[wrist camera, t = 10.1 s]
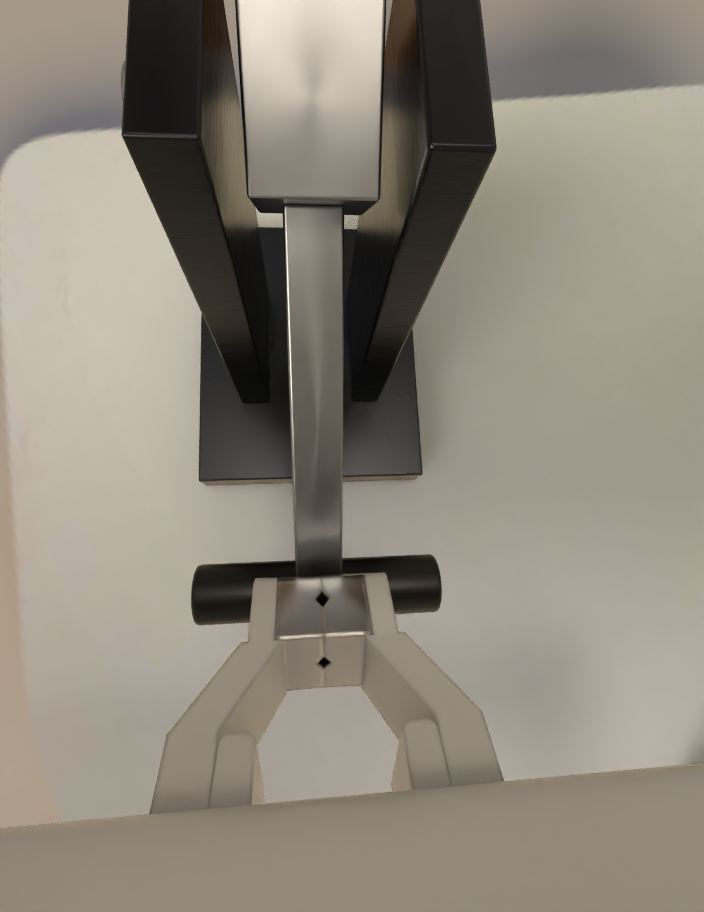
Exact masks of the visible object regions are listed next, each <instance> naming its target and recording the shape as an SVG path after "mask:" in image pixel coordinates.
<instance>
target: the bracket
mask: <svg viewBox="0 0 704 912" xmlns="http://www.w3.org/2000/svg"><path fill="white" fill-rule="evenodd" d="M484 40H485V39H484V31H483V22H482V13H481V4H480V0H393V2H392V8H391V15H390V21H389V28H388V35H387V41H386V47H385V57H384V91H383V124H382V158H381V191H380V200H379V201H378V202H377V203H376V204H374V205H373V206H372V207H371V208H370V209H369V210H367V211H366V212H365V213H364V214H362V215H359V221H358V227H357V229H344V303H343V481H370V480H403V479H416V478H417V477H419V476H420V475H422V461H421V446H420V432H419V418H418V403H417V389H416V375H415V361H414V346H413V332H412V327H413V325H414V323H415V321H416V319H417V317H418V315H419V312H420V310H421V308H422V306H423V304H424V302H425V300H426V298H427V296H428V293H429V291H430V289H431V287H432V285H433V283H434V281H435V279H436V277H437V274H438V272H439V270H440V268H441V266H442V264H443V262H444V260H445V258H446V256H447V253H448V251H449V249H450V247H451V245H452V243H453V241H454V239H455V237H456V234H457V232H458V230H459V228H460V226H461V224H462V222H463V220H464V218H465V215H466V213H467V211H468V209H469V207H470V205H471V203H472V201H473V199H474V197H475V194H476V192H477V190H478V188H479V186H480V184H481V182H482V180H483V178H484V175H485V173H486V171H487V169H488V167H489V165H490V163H491V161H492V159H493V156H494V154H495V152H496V137H495V128H494V119H493V110H492V101H491V93H490V84H489V75H488V66H487V57H486V48H485V41H484ZM121 87H122V99H123V119H122V137H123V139H124V141H125V144H126V146H127V148H128V150H129V152H130V155H131V157H132V159H133V161H134V164H135V166H136V168H137V170H138V172H139V175H140V177H141V179H142V181H143V184H144V186H145V188H146V190H147V192H148V195H149V197H150V199H151V201H152V204H153V206H154V208H155V210H156V212H157V215H158V217H159V219H160V221H161V223H162V226H163V228H164V230H165V232H166V235H167V237H168V239H169V241H170V243H171V246H172V248H173V250H174V252H175V255H176V257H177V259H178V261H179V263H180V266H181V268H182V270H183V272H184V275H185V277H186V279H187V281H188V283H189V286H190V288H191V290H192V292H193V294H194V297H195V299H196V301H197V303H198V306H199V308H200V310H201V312H202V313H201V374H200V435H199V481H200V482H202V483H203V484H205V485H236V484H270V483H293V481H292V453H291V426H290V398H289V370H288V343H287V315H286V287H285V260H284V232H283V228H265V227H258V222H257V215H256V209H255V206H254V204H253V203H252V202H251V200H250V199H249V198H248V196H247V189H246V173H245V156H244V139H243V124H242V118H241V112H240V105H239V98H238V92H237V86H236V79H235V73H234V66H233V59H232V54H231V47H230V40H229V34H228V27H227V21H226V14H225V8H224V1H223V0H129V7H128V26H127V44H126V61H124V63H123V66H122V73H121Z"/></svg>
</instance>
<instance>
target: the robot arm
mask: <svg viewBox="0 0 704 912" xmlns="http://www.w3.org/2000/svg"><path fill="white" fill-rule="evenodd" d="M361 685H362V688H363V690H364V691H365V693H366V694H367V696H368V697H369V698H370V700H371V701H372V703H373V704H374V706H375V707H376V708H377V710H378V711H379V713H380V714H381V716H382V717H383V718H384V720H385V721H386V723H387V724H388V726H389V727H390V728H391V730H392V731H393V733H394V734H395V736H396V737H397V738H398V740H399V745H398V751H397V756H396V761H395V767H394V772H393V777H392V783H391V785H392V792H385V793H374V794H363V795H353V796H342V797H331V798H320V799H309V800H298V801H288V802H277V803H266V804H264V790H263V784H262V777H261V771H260V764H259V757H258V751H257V744H258V742H259V741H260V739H261V737H262V735H263V733H264V732H265V730H266V728H267V726H268V725H269V723H270V721H271V719H272V718H273V716H274V714H275V712H276V711H277V709H278V707H279V705H280V703H281V702H282V700H283V698H284V696H285V695H286V691H289V690H300V689H310V688H320V687H338V686H361ZM0 912H704V763H698V764H688V765H677V766H666V767H655V768H645V769H634V770H623V771H612V772H602V773H591V774H580V775H569V776H558V777H548V778H537V779H526V780H515V781H504V779H503V776H502V773H501V770H500V766H499V763H498V760H497V757H496V754H495V751H494V747H493V744H492V741H491V738H490V735H489V732H488V728H487V725H486V722H485V719H484V716H483V713H482V711H481V710H480V709H479V708H478V707H477V706H476V705H475V704H474V703H473V702H472V701H471V700H470V699H469V698H468V697H467V696H466V695H465V694H464V693H463V691H462V690H461V689H460V688H459V687H458V686H457V685H456V684H455V683H454V682H453V681H452V680H451V679H450V678H449V677H448V676H447V675H446V674H445V673H444V672H443V671H442V670H441V669H440V668H439V667H438V666H437V665H436V664H435V663H434V662H433V661H432V660H431V659H430V658H429V657H428V656H427V655H426V654H425V653H424V651H423V650H422V649H421V648H420V647H419V646H418V645H417V644H416V643H415V642H414V641H413V640H412V639H411V638H410V637H409V636H408V635H407V634H406V633H399V632H398V628H397V623H396V618H395V613H394V608H393V603H392V598H391V593H390V588H389V583H388V578H387V575H386V574H385V572H382V573H364V574H362V573H358V574H341V575H325V576H316V577H278V578H255V581H254V584H253V594H252V604H251V614H250V625H249V635H248V642H241V643H240V644H239V646H238V647H237V648H236V649H235V651H234V652H233V653H232V654H231V656H230V657H229V658H228V659H227V661H226V662H225V663H224V664H223V666H222V667H221V668H220V669H219V671H218V672H217V673H216V674H215V676H214V677H213V678H212V679H211V681H210V682H209V683H208V684H207V686H206V687H205V688H204V689H203V691H202V692H201V693H200V694H199V696H198V697H197V698H196V699H195V701H194V702H193V703H192V704H191V706H190V707H189V708H188V709H187V711H186V712H185V713H184V714H183V716H182V717H181V718H180V719H179V721H178V722H177V723H176V724H175V726H174V727H173V728H172V729H171V731H170V732H169V733H168V734H167V736H166V741H165V745H164V750H163V754H162V759H161V763H160V768H159V773H158V777H157V782H156V786H155V791H154V795H153V800H152V804H151V809H150V813H149V814H147V815H137V816H126V817H115V818H104V819H94V820H83V821H72V822H61V823H51V824H41V825H29V826H19V827H8V828H0Z"/></svg>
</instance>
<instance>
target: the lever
mask: <svg viewBox="0 0 704 912" xmlns="http://www.w3.org/2000/svg"><path fill="white" fill-rule="evenodd" d="M235 5H236V22H237V39H238V55H239V72H240V86H241V87H240V89H241V106H242V123H243V139H244V156H245V173H246V189H247V196H248V198H249V199H250V200H251V202H252V203H253V204H254V206H255V207H256V208H257V210H258V211H259V212H261V213H283V232H284V260H285V287H286V315H287V343H288V370H289V398H290V426H291V453H292V481H293V508H294V536H295V561H273V562H251V563H229V564H207V565H200V566H198V567H197V568H196V571H195V573H194V577H193V582H192V590H191V608H192V615H193V619H194V622H195V623H196V624H197V625H214V624H232V623H249V622H250V614H251V604H252V594H253V584H254V581H255V578H278V577H316V576H325V575H341V574H358V573H362V574H364V573H382V572H385V574H386V575H387V578H388V583H389V588H390V593H391V598H392V603H393V608H394V613H395V614H406V613H424V612H435V611H437V610H438V609H439V607H440V603H441V596H442V586H441V576H440V571H439V567H438V564H437V561H436V559H435V557H434V556H432V555H430V554H427V555H405V556H383V557H361V558H342V486H343V303H344V215H362V214H364V213H365V212H366V211H367V210H369V209H370V208H371V207H372V206H373V205H374V204H376V203H377V202H378V201H379V200H380V191H381V158H382V124H383V91H384V57H385V24H386V0H235Z"/></svg>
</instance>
